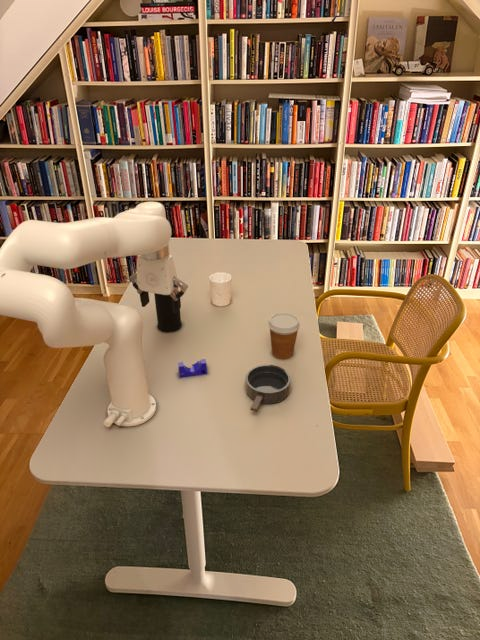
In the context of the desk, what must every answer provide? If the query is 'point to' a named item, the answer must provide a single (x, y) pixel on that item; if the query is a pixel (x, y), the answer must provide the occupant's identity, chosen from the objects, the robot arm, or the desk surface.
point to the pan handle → (257, 402)
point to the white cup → (220, 288)
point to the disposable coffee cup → (283, 334)
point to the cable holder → (192, 369)
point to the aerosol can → (167, 314)
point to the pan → (268, 383)
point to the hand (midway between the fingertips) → (161, 307)
